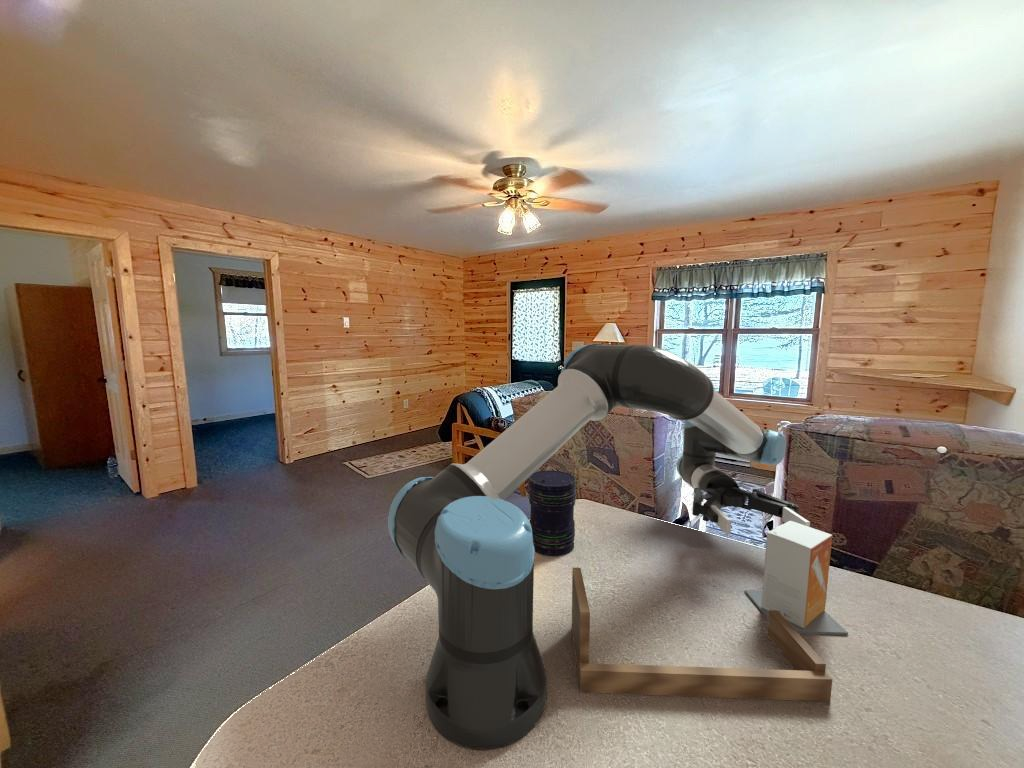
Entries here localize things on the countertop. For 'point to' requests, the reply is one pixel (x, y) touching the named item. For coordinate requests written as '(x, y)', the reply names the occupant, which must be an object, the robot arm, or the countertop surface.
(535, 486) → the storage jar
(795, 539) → the small box
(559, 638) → the countertop surface
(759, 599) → the mat
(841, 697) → the countertop surface
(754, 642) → the countertop surface
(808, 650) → the wooden u-shaped frame
